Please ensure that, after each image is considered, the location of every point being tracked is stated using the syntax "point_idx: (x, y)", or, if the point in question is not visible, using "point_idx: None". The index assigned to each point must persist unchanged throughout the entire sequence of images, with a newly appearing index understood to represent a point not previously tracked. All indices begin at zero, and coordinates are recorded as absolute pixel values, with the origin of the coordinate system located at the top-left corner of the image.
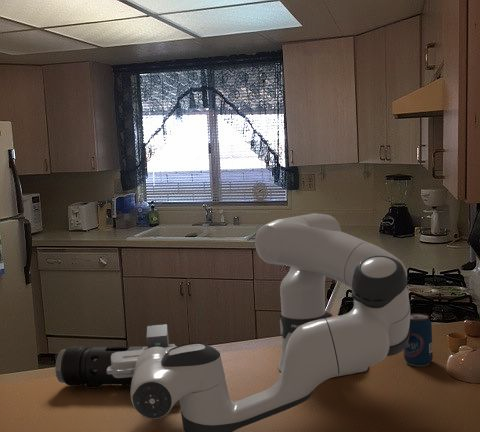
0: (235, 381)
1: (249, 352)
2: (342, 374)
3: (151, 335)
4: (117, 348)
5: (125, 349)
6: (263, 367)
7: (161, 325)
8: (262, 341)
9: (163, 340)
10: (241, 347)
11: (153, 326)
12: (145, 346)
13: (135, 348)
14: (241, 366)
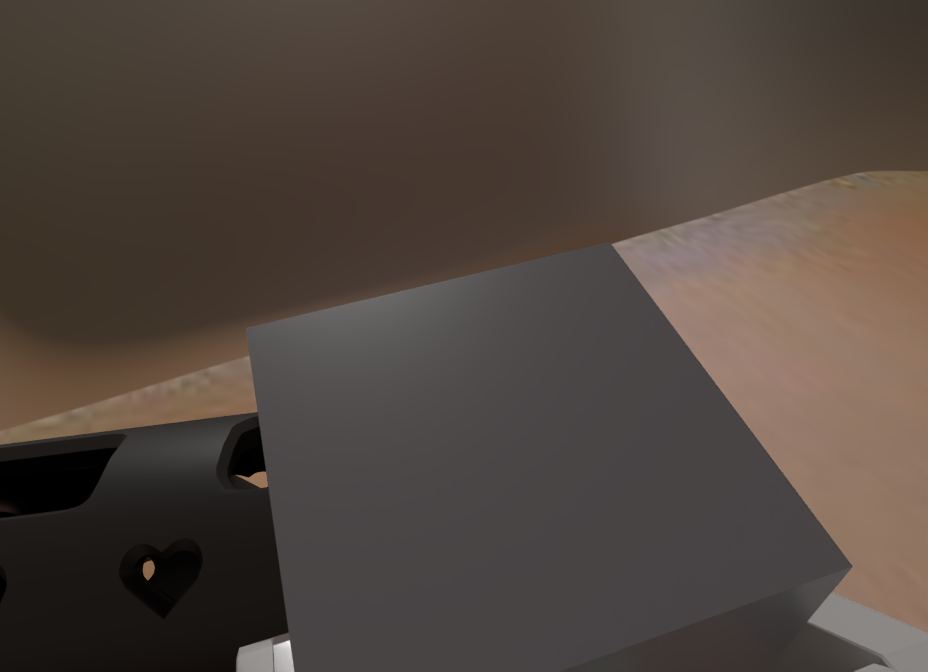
0: (905, 536)
1: (719, 290)
2: None
3: (435, 637)
4: (20, 461)
5: (91, 459)
6: (914, 380)
7: (523, 279)
8: (709, 230)
9: (725, 656)
10: (654, 267)
11: (377, 321)
12: (255, 418)
13: (168, 468)
14: (784, 385)
